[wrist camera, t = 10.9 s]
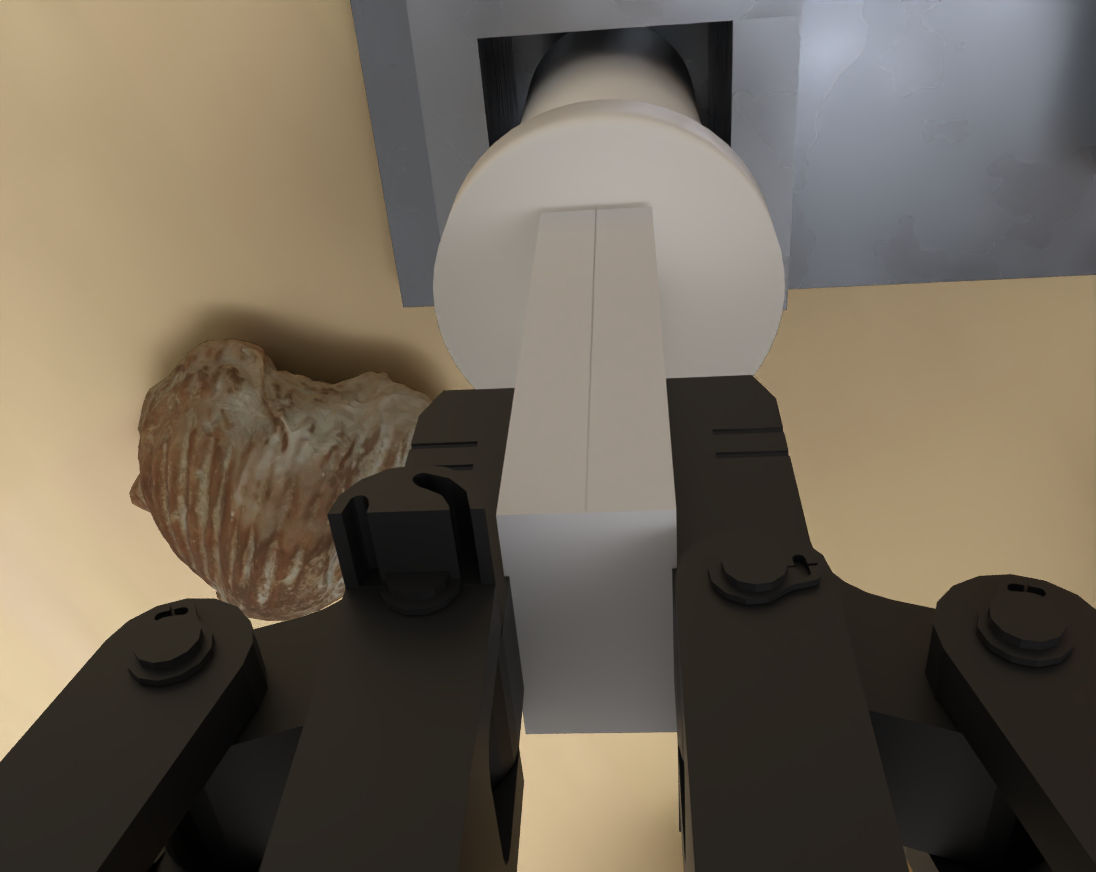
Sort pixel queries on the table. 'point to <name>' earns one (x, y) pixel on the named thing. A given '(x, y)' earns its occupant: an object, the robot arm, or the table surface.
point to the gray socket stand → (786, 122)
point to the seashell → (263, 470)
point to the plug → (611, 183)
